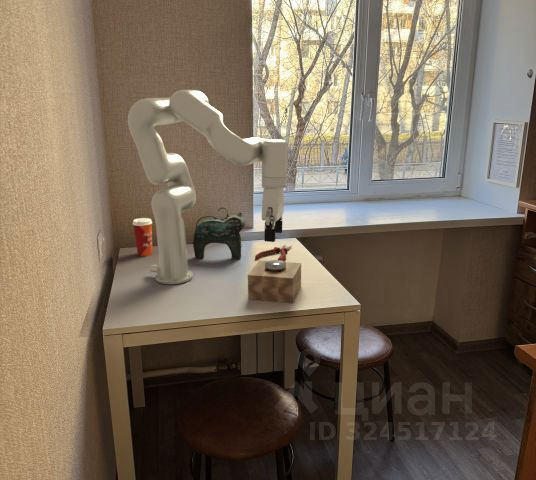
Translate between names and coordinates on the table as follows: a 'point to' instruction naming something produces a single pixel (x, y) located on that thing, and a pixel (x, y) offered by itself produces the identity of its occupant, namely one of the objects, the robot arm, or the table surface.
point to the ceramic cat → (219, 234)
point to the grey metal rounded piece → (275, 265)
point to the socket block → (274, 283)
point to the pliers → (273, 251)
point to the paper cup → (143, 236)
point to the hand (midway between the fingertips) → (273, 236)
